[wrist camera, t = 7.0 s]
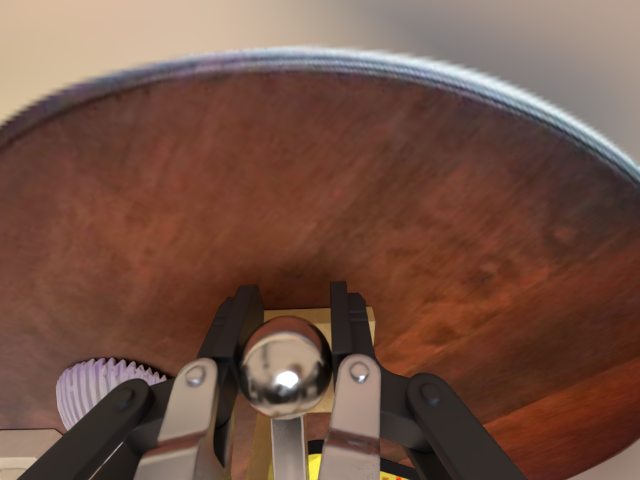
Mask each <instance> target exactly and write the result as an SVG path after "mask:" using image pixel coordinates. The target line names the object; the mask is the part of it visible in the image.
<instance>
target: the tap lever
mask: <svg viewBox="0 0 640 480" xmlns="http://www.w3.org/2000/svg"><path fill="white" fill-rule="evenodd" d="M332 372H333V368H332V352H331V348H330V346H329V343H328V341H327V339H326V337H325V336H324V334H323V333H322V332H321V330H320V329H319V328H318V327H317V326H315V325H314V324H313V323H311V322H310V321H308V320H306V319H304V318H301V317H297V316H288V315H285V316H278V317H274V318H272V319H269V320H267V321H265V322H264V323H262V324H261V325H259V326H258V327H257V328H256V329H255V330H254V331H253V332H252V333H251V334H250V335H249V336H248V338H247V340H246V341H245V343H244V345H243V347H242V349H241V352H240V356H239V359H238V381H239V385H240V389H241V391H242V394H243V396H244V397H245V399H246V400H247V402H248V403H249V404H250V406H251V407H252V408H253V409H254V410H256V411H257V412H258V413H260V414H262V415H263V416H266V417H268V418H270V421H271V439H272V457H273V475H274V480H310V476H309V457H308V437H307V418H306V413H308V412H309V411H311V410H312V409H313V408H314V407H315V406H316V405H318V403H319V402H320V401H321V400H322V398H323V397H324V395H325V394H326V392H327V390H328V387H329V385H330V382H331V378H332Z"/></svg>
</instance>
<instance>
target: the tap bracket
mask: <svg viewBox="0 0 640 480" xmlns="http://www.w3.org/2000/svg"><path fill="white" fill-rule="evenodd" d="M366 309H367V315H368V321H369V326H370V331H371V337H372V343H373V345H374V332H375V318H374V313H373V309H372V307H366ZM285 315H288V316H297V317H301V318H304V319H306V320H308V321H310V322H311V323H313V324H314V325H315V326H317V327H318V328H319V329H320V330H321V332H322V333H323V334H324V336H325V337H326V339H327V341H328V343H329V346H330V348H331V310H330V308H318V309H290V310H264V322H265V321H267V320H269V319H272V318H274V317H278V316H285ZM331 352H332V349H331ZM334 394H335V393H334V385H333V372H332V378H331V382H330V385H329V387H328V390H327V392H326V394H325V395H324V397H323V398H322V400H321V401H320V402H319V403H318V405H316V406H315V407H314V408H313V409H312V410H311V411H309V412H332V406H333V400H334ZM245 480H274V475H273V457H272V439H271V421H270V418H268V417H266V416H263V415H262V414H260V413H258V414H257V419H256V425H255V430H254V435H253V441H252V446H251V451H250V457H249V462H248V467H247V473H246V478H245Z"/></svg>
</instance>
